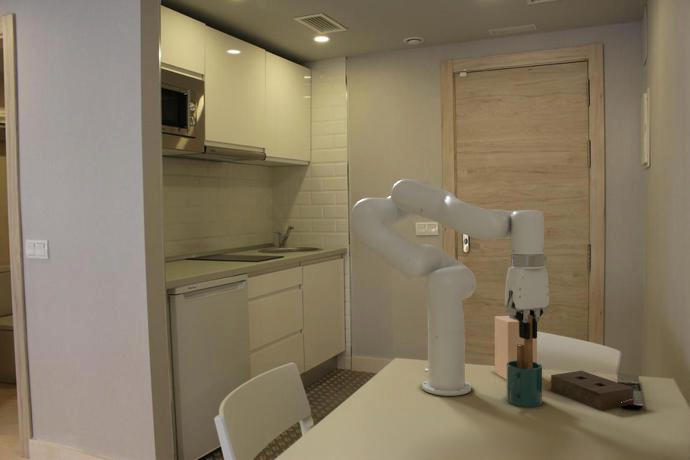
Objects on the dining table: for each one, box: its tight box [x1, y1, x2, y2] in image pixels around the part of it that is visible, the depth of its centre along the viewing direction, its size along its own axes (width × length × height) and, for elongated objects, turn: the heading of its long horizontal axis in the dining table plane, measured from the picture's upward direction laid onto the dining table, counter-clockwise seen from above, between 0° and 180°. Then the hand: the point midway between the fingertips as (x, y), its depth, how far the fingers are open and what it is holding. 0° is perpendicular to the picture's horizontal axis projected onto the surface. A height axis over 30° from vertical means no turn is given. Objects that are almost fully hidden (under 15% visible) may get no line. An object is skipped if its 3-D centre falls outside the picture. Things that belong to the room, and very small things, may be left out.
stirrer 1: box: [517, 344, 525, 369], centre depth 141 cm, size 1×1×13 cm
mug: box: [506, 360, 543, 408], centre depth 139 cm, size 12×8×9 cm
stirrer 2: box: [524, 314, 533, 369], centre depth 139 cm, size 1×1×13 cm
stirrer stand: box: [550, 370, 634, 411], centre depth 143 cm, size 16×10×4 cm, turn 22°
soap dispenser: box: [494, 308, 538, 381], centre depth 162 cm, size 13×9×22 cm
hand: (528, 337), depth 139 cm, fingers closed on stirrer 2, 1 cm apart
